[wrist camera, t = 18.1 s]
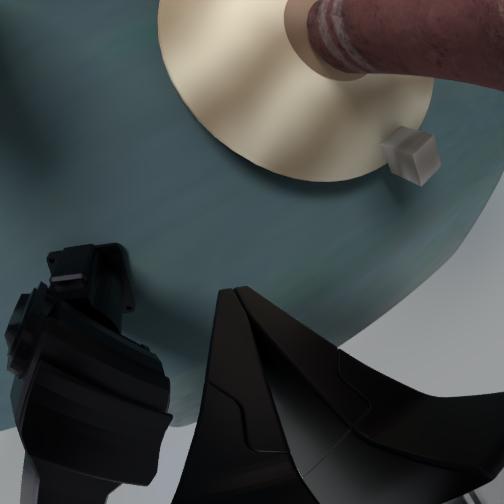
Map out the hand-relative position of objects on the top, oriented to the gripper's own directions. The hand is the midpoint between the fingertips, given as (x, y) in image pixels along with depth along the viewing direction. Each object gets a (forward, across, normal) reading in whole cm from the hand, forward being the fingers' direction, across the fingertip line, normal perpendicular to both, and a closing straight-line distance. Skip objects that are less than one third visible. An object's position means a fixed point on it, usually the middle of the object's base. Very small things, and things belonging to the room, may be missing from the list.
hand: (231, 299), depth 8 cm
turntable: (+12, -10, -11) cm, 19 cm away
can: (+11, -10, -11) cm, 18 cm away
